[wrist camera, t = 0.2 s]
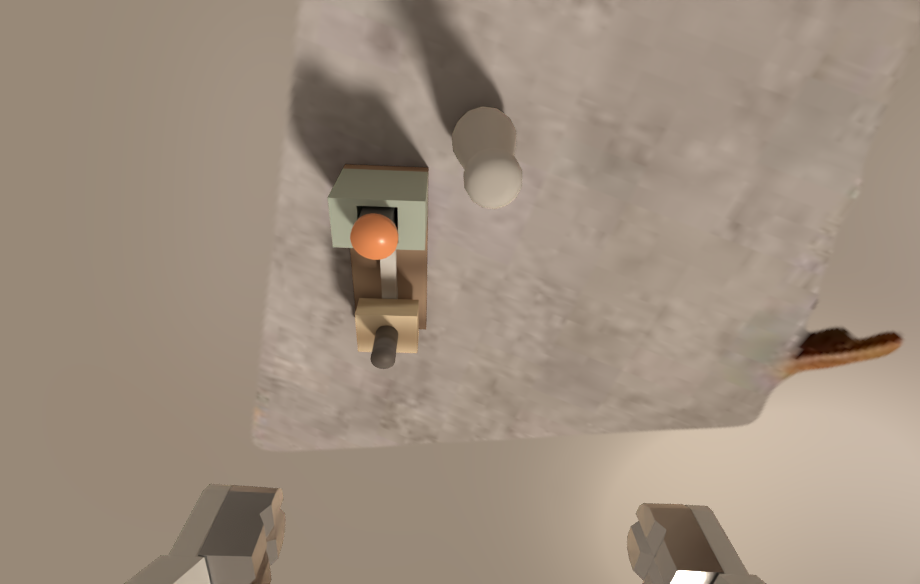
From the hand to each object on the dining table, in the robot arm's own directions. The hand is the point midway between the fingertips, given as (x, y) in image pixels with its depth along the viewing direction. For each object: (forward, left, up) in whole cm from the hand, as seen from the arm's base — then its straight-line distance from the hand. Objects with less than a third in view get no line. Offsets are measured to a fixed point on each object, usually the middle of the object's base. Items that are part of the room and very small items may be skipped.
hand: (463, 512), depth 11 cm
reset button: (+8, -6, -33) cm, 34 cm away
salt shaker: (+2, +3, -39) cm, 39 cm away
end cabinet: (+8, -6, -38) cm, 39 cm away
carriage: (+22, -6, -37) cm, 43 cm away
